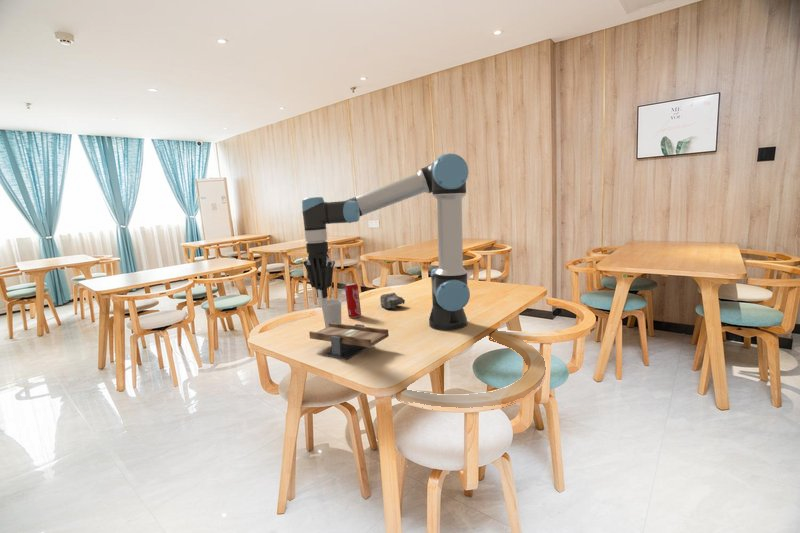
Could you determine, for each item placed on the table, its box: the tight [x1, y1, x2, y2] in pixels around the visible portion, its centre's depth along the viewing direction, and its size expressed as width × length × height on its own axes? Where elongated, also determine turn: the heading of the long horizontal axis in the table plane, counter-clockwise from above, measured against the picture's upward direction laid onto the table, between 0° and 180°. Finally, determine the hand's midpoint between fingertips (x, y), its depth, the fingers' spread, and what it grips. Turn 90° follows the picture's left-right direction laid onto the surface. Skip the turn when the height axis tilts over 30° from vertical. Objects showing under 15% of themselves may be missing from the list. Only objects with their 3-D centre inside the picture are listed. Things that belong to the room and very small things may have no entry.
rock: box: [379, 292, 406, 310], centre depth 191 cm, size 13×9×6 cm, turn 53°
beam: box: [308, 323, 390, 348], centre depth 141 cm, size 26×11×2 cm, turn 59°
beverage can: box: [344, 282, 362, 319], centre depth 180 cm, size 6×6×15 cm
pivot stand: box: [323, 323, 369, 361], centre depth 141 cm, size 10×16×7 cm, turn 149°
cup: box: [321, 298, 342, 328], centre depth 162 cm, size 8×8×12 cm
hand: (323, 306), depth 146 cm, fingers closed
